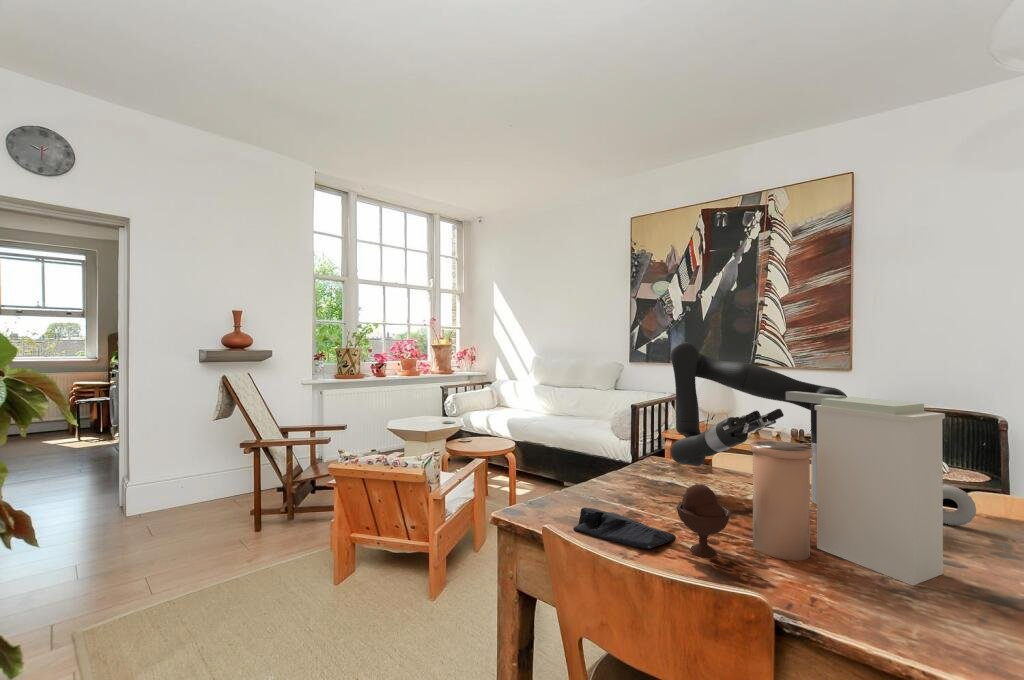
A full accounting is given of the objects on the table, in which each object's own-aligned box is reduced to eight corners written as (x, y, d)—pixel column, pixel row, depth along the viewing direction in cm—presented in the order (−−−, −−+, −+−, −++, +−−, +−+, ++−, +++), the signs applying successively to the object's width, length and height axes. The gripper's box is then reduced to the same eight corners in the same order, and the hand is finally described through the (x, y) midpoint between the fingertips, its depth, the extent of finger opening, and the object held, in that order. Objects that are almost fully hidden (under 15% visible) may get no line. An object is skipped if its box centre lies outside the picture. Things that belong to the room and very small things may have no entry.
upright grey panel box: (846, 539, 111) (846, 402, 111) (945, 574, 94) (945, 413, 94) (814, 547, 106) (814, 405, 106) (913, 586, 89) (913, 417, 89)
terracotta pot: (773, 534, 113) (773, 438, 113) (825, 555, 102) (824, 448, 102) (738, 543, 108) (738, 442, 108) (788, 565, 97) (788, 453, 97)
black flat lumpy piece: (647, 560, 100) (648, 537, 101) (567, 530, 116) (567, 511, 116) (681, 539, 111) (681, 519, 111) (603, 515, 127) (603, 497, 127)
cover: (804, 398, 120) (804, 390, 120) (924, 411, 97) (924, 401, 97) (775, 400, 115) (775, 392, 115) (893, 414, 92) (893, 404, 92)
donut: (977, 529, 117) (977, 488, 117) (975, 532, 115) (975, 491, 115) (924, 517, 125) (924, 479, 125) (922, 520, 123) (921, 482, 123)
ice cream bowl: (737, 565, 97) (737, 492, 97) (680, 560, 99) (680, 489, 99) (724, 544, 107) (724, 478, 108) (673, 540, 110) (673, 475, 110)
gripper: (702, 424, 134) (744, 401, 121) (737, 421, 140) (782, 398, 127) (712, 449, 130) (758, 428, 117) (748, 445, 136) (795, 424, 123)
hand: (770, 413), depth 122 cm, fingers open, 8 cm apart
